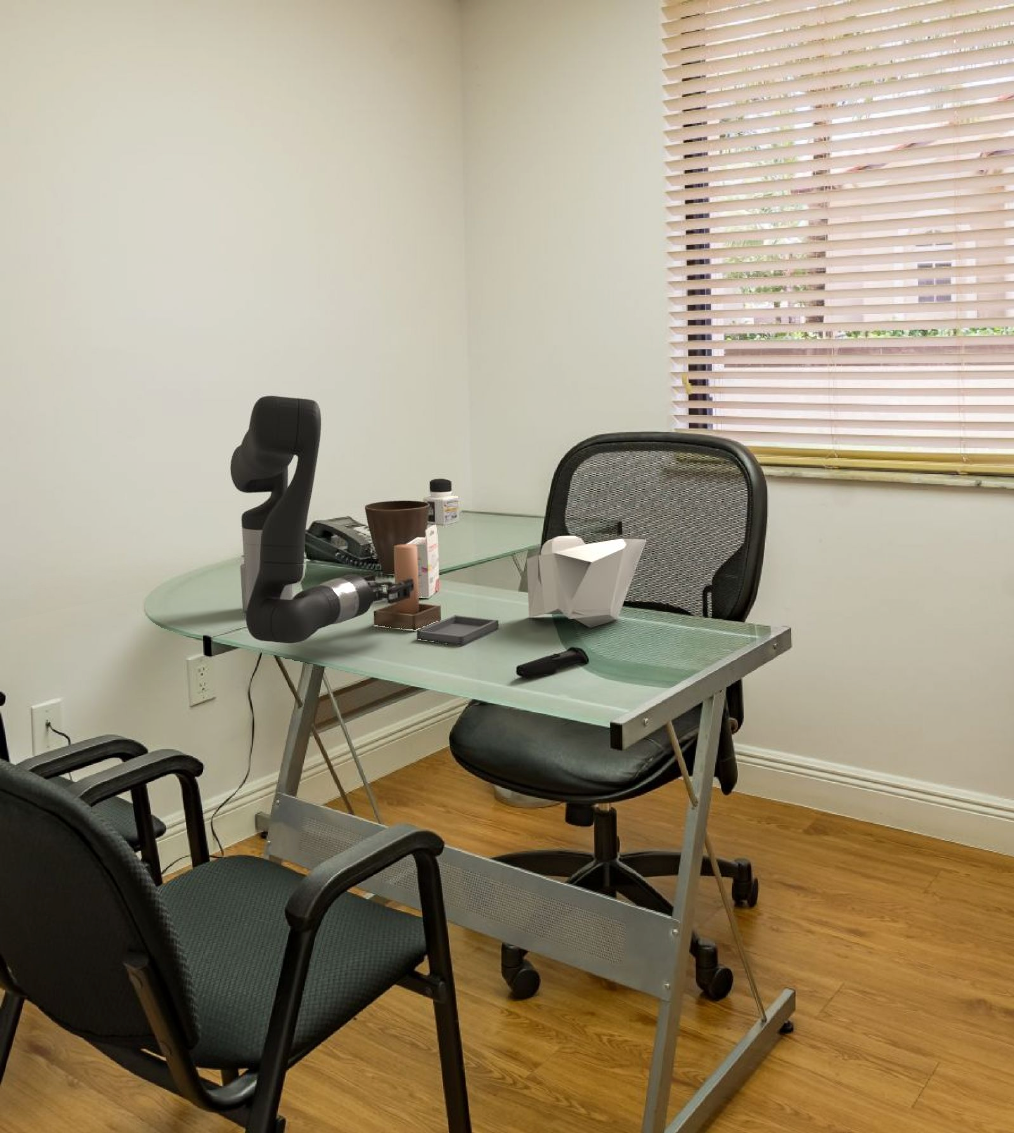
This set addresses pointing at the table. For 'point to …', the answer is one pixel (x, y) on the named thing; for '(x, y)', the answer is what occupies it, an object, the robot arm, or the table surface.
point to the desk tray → (458, 630)
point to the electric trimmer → (552, 663)
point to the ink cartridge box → (427, 562)
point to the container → (442, 503)
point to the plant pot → (395, 527)
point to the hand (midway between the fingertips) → (392, 582)
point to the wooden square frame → (407, 617)
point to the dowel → (407, 576)
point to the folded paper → (582, 578)
